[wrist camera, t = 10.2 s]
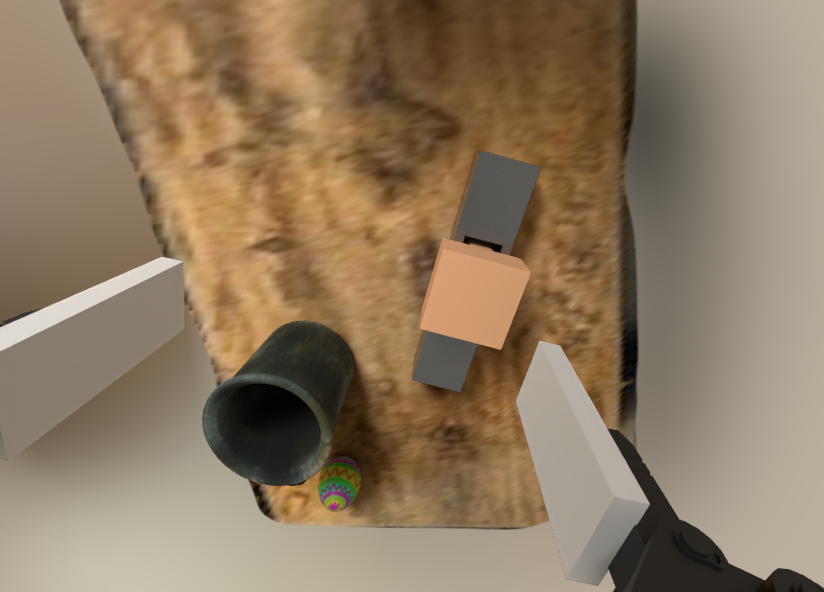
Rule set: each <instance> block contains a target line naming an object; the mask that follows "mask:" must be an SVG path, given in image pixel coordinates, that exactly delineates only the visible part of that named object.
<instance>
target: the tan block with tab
mask: <svg viewBox="0 0 824 592" xmlns="http://www.w3.org/2000/svg"><path fill="white" fill-rule="evenodd" d="M530 274H531V271H530V270H529V269H528V268H527V266H526V265H525V264H524V262H523V261H522V260H521V259H520V258H516V257H513V256H509V255H505V254H502V253H498V252H494V251H493V250H492V248H491V247H490V245H489V243H486V242H482V241H478V240H474V239H471V238H468V240H467V243H466V244H465V243H461V242H457V241H453V240H450V239H446V238H442V242H441V245H440V249H439V252H438V255H437V259H436V262H435V266H434V269H433V272H432V276H431V279H430V283H429V286H428V290H427V293H426V296H425V300H424V303H423V307H422V310H421V321H420V329H423V330H427V331H431V332H434V333H438V334H442V335H446V336H450V337H453V338H457V339H461V340H465V341H469V342H473V343H476V344H480V345H484V346H488V347H492V348H496V349H499V350H501V349H502V346H503V343H504V341H505V338H506V336H507V333H508V331H509V328H510V325H511V323H512V320H513V318H514V315H515V313H516V310H517V307H518V305H519V302H520V300H521V297H522V295H523V292H524V289H525V287H526V284H527V282H528V279H529V277H530Z"/></svg>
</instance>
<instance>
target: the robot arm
mask: <svg viewBox="0 0 824 592" xmlns="http://www.w3.org/2000/svg"><path fill="white" fill-rule="evenodd" d="M183 329H184V282H183V261H178V260H174V259H169V258H165V257H161V258H158V259H156V260H154V261H151V262H149V263H147V264H144V265H142V266H140V267H138V268H136V269H133V270H131V271H129V272H126V273H124V274H122V275H119V276H117V277H115V278H113V279H110V280H108V281H106V282H103V283H101V284H99V285H96V286H94V287H92V288H89V289H87V290H85V291H83V292H80V293H78V294H76V295H73V296H72V297H69V298H67V299H64V300H62V301H60V302H57V303H55V304H53V305H51V306H48V307H46V308H43V309H38V310H34V311H30V312H26V313H23V314H20V315H18V316H15V317H13V318H11V319H8V320H6V321H4V322H3V323H2V324H0V460H4V461H9V460H11V459H12V458H13V457H15V456H16V455H17V454H19V453H20V452H21V451H23V450H24V449H25V448H27V447H28V446H29V445H31V444H32V443H33V442H34V441H36V440H37V439H38V438H40V437H41V436H42V435H44V434H45V433H47V431H49V430H50V429H52V428H53V427H54V426H56V425H57V424H58V423H60V422H61V421H62V420H64V419H65V418H66V417H68V416H69V415H70V414H72V413H73V412H74V411H76V410H77V409H78V408H79V407H81V406H82V405H84V404H85V403H86V402H88V401H89V400H90V399H92V398H93V397H94V396H95V395H97V394H98V393H99V392H100V391H102V390H103V389H105V388H106V387H107V386H109V385H110V384H111V383H113V382H114V381H115V380H117V379H118V378H119V377H121V376H122V375H123V374H125V373H126V372H127V371H129V370H130V369H131V368H133V367H134V366H135V365H137V364H138V363H139V362H141V361H142V360H143V359H144V358H146V357H147V356H149V355H150V354H151V353H152V352H154V351H155V350H156V349H158V348H159V347H160V346H162V345H163V344H164V343H166V342H167V341H168V340H170V339H171V338H172V337H174V336H175V335H176V334H178V333H179V332H180V331H182V330H183ZM516 403H517V407H518V410H519V414H520V417H521V421H522V424H523V428H524V431H525V435H526V439H527V442H528V446H529V449H530V453H531V456H532V460H533V463H534V467H535V470H536V474H537V477H538V481H539V484H540V488H541V492H542V495H543V499H544V502H545V506H546V509H547V513H548V516H549V520H550V523H551V527H552V530H553V534H554V537H555V541H556V544H557V548H558V552H559V555H560V558H561V562H562V566H563V569H564V573H565V576H566V579H567V580H572V581H577V582H582V583H587V584H591V585H596V586H598V585H599V584H600V582H601V580H602V579H603V577H604V576H605V574H606V573H607V571H608V570H609V571H610V574H611V576H612V579H613V582H614V584H615V587H616V588H615V589H614V591H613V592H824V588H823V587H821V586H820V585H818V584H817V583H815V582H813V581H812V580H810V579H808V578H807V577H805V576H804V575H802V574H799V573H797V572H794V571H792V570H789V569H780V568H778V569H777V570H775V571H774V572H773V573H772V574H771V575H770V576H769V577H768V578H767V579H766V580H763V579H761V578H759V577H756V576H754V575H752V574H750V573H748V572H746V571H744V570H742V569H740V568H737V567H735V566H733V565H731V564H729V563H728V561H727V560H726V558H725V556H724V554H723V553H722V551H721V550H720V549H719V547H718V546H717V545H716V544H715V543H714V542H713V541H712V540H711V539H710V538H709V537H708V536H706V535H705V534H704V533H703V532H701V531H700V530H699V529H698V528H696V527H694V526H692V525H690V524H689V523H687V522H685V521H682V520H679V518H678V517H677V515H676V513H675V512H674V510H673V508H672V507H671V505H670V504H669V502H668V500H667V499H666V497H665V496H664V494H663V492H662V491H661V489H660V488H659V486H658V484H657V483H656V481H655V480H654V478H653V476H651V475H650V471H649V470H648V468H647V467H646V465H645V464H644V463H642V459H641V457H640V455H639V454H638V452H637V450H636V449H635V447H634V446H633V444H632V443H630V442H629V441H628V440H627V439H626V438H625V437H624V436H623V435H622V434H621V433H620V432H619V431H618V430H613V429H608V428H606V426H605V424H604V422H603V420H602V419H601V417H600V415H599V413H598V412H597V410H596V408H595V406H594V405H593V403H592V401H591V399H590V398H589V396H588V394H587V392H586V390H585V389H584V387H583V385H582V383H581V382H580V380H579V378H578V376H577V375H576V373H575V371H574V369H573V368H572V366H571V364H570V362H569V361H568V359H567V357H566V355H565V353H564V352H563V350H562V348H561V346H560V345H556V344H551V343H547V342H542V341H539V343H538V346H537V348H536V351H535V354H534V356H533V359H532V361H531V364H530V366H529V369H528V372H527V374H526V377H525V379H524V382H523V384H522V387H521V390H520V392H519V395H518V397H517V400H516Z"/></svg>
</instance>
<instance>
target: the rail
mask: <svg viewBox="0 0 824 592" xmlns="http://www.w3.org/2000/svg"><path fill="white" fill-rule="evenodd" d="M540 169H541V167H539V166H535V165H532V164H528V163H524V162H521V161H517V160H513V159H510V158H506V157H503V156H499V155H495V154H492V153H488V152H484V151H481V150H476V152H475V155H474V159H473V162H472V165H471V169H470V172H469V176H468V179H467V182H466V186H465V189H464V193H463V196H462V199H461V203H460V206H459V209H458V213H457V216H456V220H455V223H454V226H453V230H452V233H451V236H450V240H453V241H457V242H461V243H465V244H466V243H467V240H468V238H471V239H474V240H478V241H482V242H486V243H489V245H490V247H491V248H492V250H493V251H494V252H498V253H502V254H505V255H510V253H511V250H512V247H513V244H514V241H515V239H516V236H517V233H518V230H519V228H520V225H521V222H522V219H523V216H524V214H525V211H526V208H527V205H528V202H529V200H530V197H531V194H532V191H533V188H534V186H535V183H536V180H537V177H538V175H539V172H540ZM477 345H478V344H476V343H473V342H469V341H465V340H461V339H457V338H453V337H450V336H446V335H442V334H438V333H434V332H431V331H427V330H423V331H422V334H421V338H420V341H419V345H418V348H417V351H416V355H415V358H414V364H413V374H412V380H414V381H418V382H421V383H425V384H429V385H433V386H437V387H441V388H445V389H449V390H453V391H457V392H461V389H462V387H463V384H464V381H465V378H466V375H467V373H468V370H469V367H470V364H471V361H472V359H473V356H474V353H475V350H476V348H477Z"/></svg>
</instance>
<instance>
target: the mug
mask: <svg viewBox="0 0 824 592" xmlns="http://www.w3.org/2000/svg"><path fill="white" fill-rule="evenodd" d="M353 371H354V365H353V359H352V355H351V353H350V350H349V348H348V347H347V345H346V344H345V342H344V341H343V340H342V339H341V337H339V336H338V335H337V334H336V333H335V332H334V331H332V330H331V329H329V328H327V327H325V326H323V325H321V324H318V323H315V322H309V321H296V322H291V323H287V324H285V325H283V326H281V327H279V328H278V329H276V330H275V331H274V332H273V333H272V334H271V335H270V336H269V337H268V339H267V340H266V341H265V342H264V343H263V344H262V345H261V346H260V348H259V349H258V350H257V351H256V352H255V353H254V354H253V355H252V356H251V358H250V359H249V360H248V361H247V362H246V363H245V364H244V365H243V367H242V368H241V369H240V370H239V371H238V372H237V373H236V374H235V376H234V377H233V378H231V379H229V380H227V381H225V382H223V383H222V384H220V385H219V386H218V387H217V388H216V389H215V390H214V391H213V392H212V393H211V395H210V397H209V398H208V400H207V402H206V404H205V407H204V411H203V417H202V421H203V430H204V435H205V437H206V440H207V442H208V444H209V446H210V448H211V449H212V451H213V453H214V454H215V455H216V456H217V457H218V459H219V460H220V461H221V462H222V463H223V464H224V465H225V466H227V467H228V468H229V469H231V470H232V471H233V472H235V473H236V474H238V475H240V476H242V477H244V478H246V479H248V480H250V481H254V482H257V483H260V484H265V485H273V486H285V485H289V486H296V485H301V484H304V483H305V482H306V480H307V479H309V478H310V477H312V476H314V475H315V474H316V473H317V472H318V471H319V470H320V469H321V468H322V467H323V466H324V464H325V463H326V461H327V459H328V458H329V455H330V452H331V449H332V441H333V440H332V432H333V430H334V427H335V424H336V422H337V419H338V416H339V413H340V411H341V408H342V405H343V402H344V400H345V397H346V394H347V392H348V389H349V386H350V383H351V380H352V377H353Z"/></svg>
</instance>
